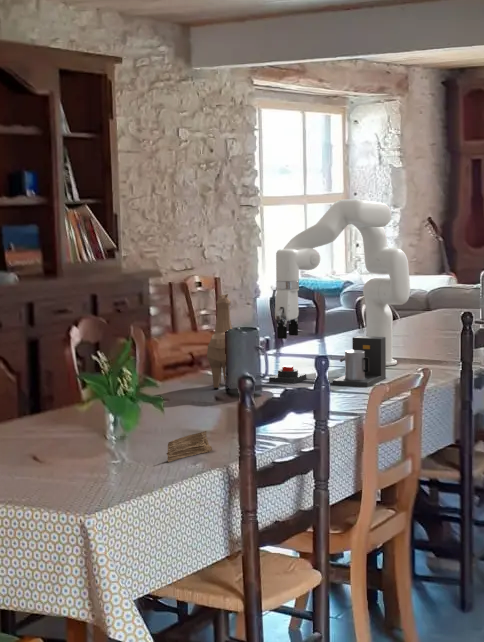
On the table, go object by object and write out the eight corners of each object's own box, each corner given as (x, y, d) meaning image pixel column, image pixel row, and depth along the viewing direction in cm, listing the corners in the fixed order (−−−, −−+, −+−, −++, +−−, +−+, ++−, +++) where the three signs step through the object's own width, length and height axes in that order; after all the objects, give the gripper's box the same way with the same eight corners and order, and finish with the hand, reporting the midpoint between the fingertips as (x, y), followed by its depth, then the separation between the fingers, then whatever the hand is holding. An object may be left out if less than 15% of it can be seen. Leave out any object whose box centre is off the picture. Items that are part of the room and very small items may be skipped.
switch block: (281, 377, 401) (281, 367, 400) (306, 378, 397) (306, 368, 396) (269, 382, 391) (269, 371, 391) (294, 383, 387) (294, 373, 387)
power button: (284, 370, 396) (284, 365, 396) (294, 371, 394) (294, 365, 394) (280, 372, 393) (280, 366, 393) (290, 372, 391) (290, 367, 391)
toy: (238, 381, 393) (237, 292, 390) (234, 392, 373) (233, 298, 370) (212, 381, 394) (211, 293, 391) (207, 392, 374) (205, 298, 371)
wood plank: (172, 463, 277) (171, 442, 277) (165, 462, 279) (165, 441, 278) (212, 451, 289) (212, 431, 289) (205, 450, 291) (205, 430, 290)
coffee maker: (351, 376, 400) (351, 335, 399) (385, 378, 395) (385, 337, 394) (332, 384, 383) (332, 342, 382) (367, 387, 378) (367, 344, 377)
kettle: (343, 376, 390) (343, 349, 389) (372, 377, 386) (371, 350, 385) (336, 379, 385) (336, 351, 384) (365, 380, 380) (365, 353, 379)
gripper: (287, 283, 400) (287, 333, 402) (266, 287, 385) (267, 339, 386) (307, 284, 397) (307, 334, 398) (288, 288, 381) (288, 340, 383)
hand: (287, 336), depth 392 cm, fingers open, 9 cm apart
